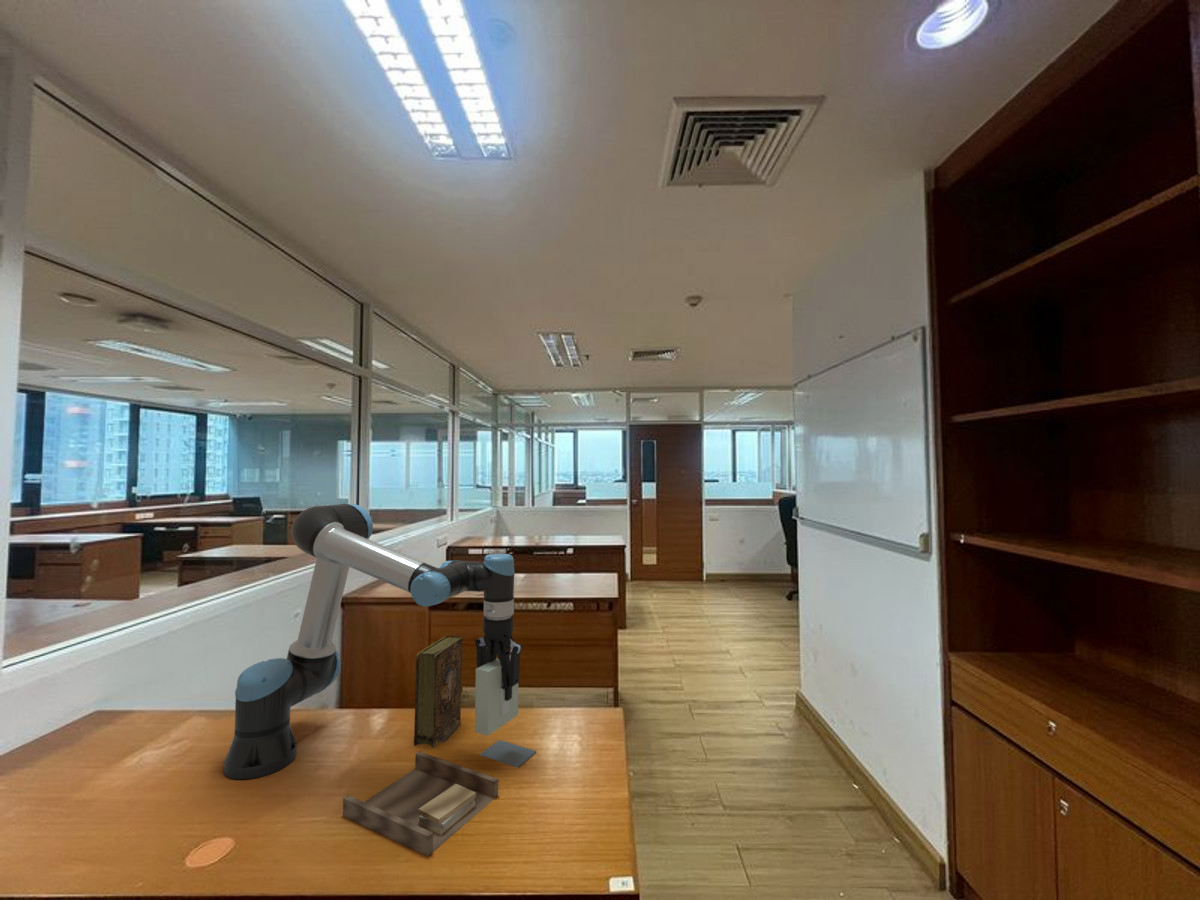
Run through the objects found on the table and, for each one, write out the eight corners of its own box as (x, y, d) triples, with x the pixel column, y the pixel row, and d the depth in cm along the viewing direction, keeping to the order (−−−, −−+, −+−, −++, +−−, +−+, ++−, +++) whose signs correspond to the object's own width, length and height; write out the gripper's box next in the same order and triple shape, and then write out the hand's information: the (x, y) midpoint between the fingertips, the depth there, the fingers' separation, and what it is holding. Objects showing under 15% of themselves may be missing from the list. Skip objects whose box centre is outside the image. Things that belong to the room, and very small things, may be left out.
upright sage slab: (474, 732, 124) (475, 668, 124) (505, 711, 134) (506, 653, 135) (487, 735, 122) (488, 671, 122) (518, 715, 132) (518, 656, 133)
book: (445, 721, 149) (447, 634, 150) (462, 723, 148) (464, 636, 149) (413, 751, 133) (416, 653, 134) (432, 754, 132) (435, 655, 133)
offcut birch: (418, 825, 103) (418, 820, 103) (453, 797, 112) (453, 793, 112) (440, 835, 100) (440, 829, 100) (475, 806, 109) (475, 801, 109)
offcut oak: (418, 813, 103) (418, 808, 103) (455, 788, 112) (455, 783, 112) (438, 824, 100) (438, 819, 100) (475, 797, 109) (475, 792, 109)
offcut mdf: (419, 821, 102) (419, 816, 102) (451, 793, 112) (451, 788, 112) (443, 829, 100) (443, 824, 100) (474, 799, 109) (474, 795, 109)
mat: (452, 775, 122) (452, 774, 122) (499, 741, 138) (499, 739, 138) (491, 790, 117) (491, 788, 117) (536, 752, 133) (536, 751, 133)
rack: (342, 823, 105) (343, 798, 106) (418, 772, 123) (419, 751, 124) (427, 864, 94) (428, 836, 95) (497, 802, 112) (498, 779, 113)
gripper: (462, 615, 130) (461, 709, 129) (517, 624, 122) (516, 724, 121) (482, 608, 137) (480, 698, 135) (535, 616, 129) (534, 711, 128)
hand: (497, 710), depth 128 cm, fingers closed on upright sage slab, 4 cm apart
